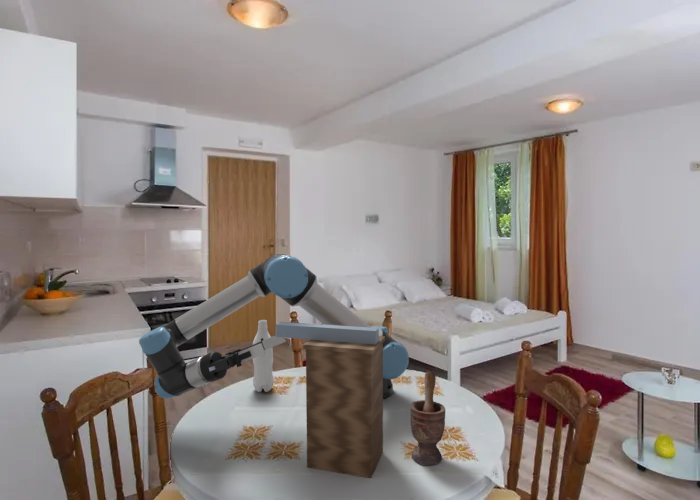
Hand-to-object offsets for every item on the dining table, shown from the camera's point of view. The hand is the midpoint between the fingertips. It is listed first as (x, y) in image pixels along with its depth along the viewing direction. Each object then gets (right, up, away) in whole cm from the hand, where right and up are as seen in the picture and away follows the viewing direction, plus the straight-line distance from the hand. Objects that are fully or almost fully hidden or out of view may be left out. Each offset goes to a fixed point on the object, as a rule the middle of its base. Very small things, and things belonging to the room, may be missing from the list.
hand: (274, 342), depth 113 cm
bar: (+14, +2, -6) cm, 16 cm away
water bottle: (-11, -26, +41) cm, 50 cm away
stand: (+19, -28, -6) cm, 34 cm away
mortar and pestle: (+39, -28, -4) cm, 48 cm away
